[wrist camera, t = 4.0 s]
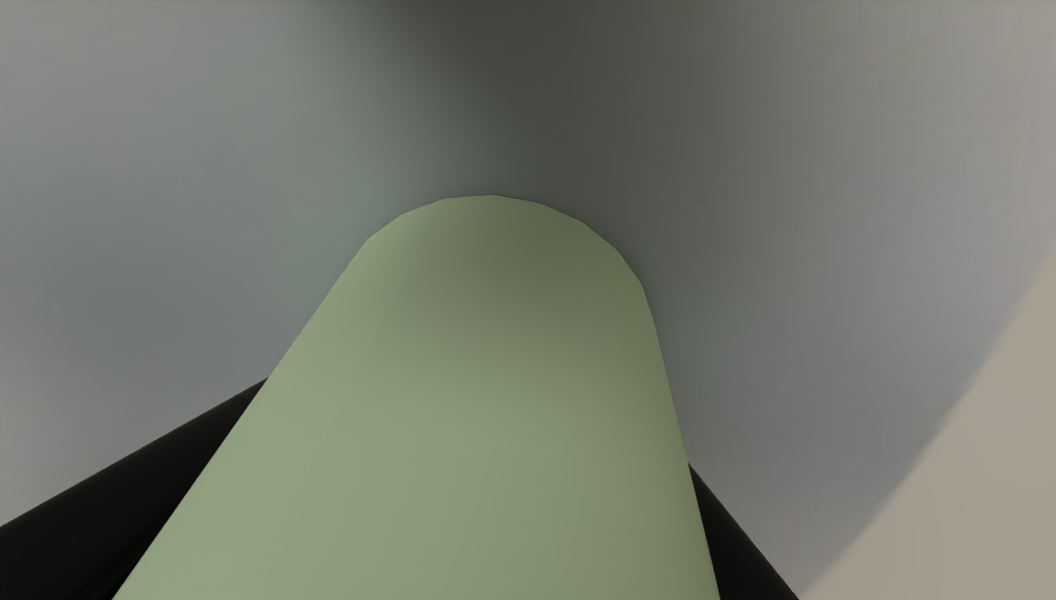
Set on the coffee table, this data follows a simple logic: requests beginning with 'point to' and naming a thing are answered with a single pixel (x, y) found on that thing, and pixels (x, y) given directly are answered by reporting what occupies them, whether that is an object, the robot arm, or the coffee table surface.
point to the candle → (453, 434)
